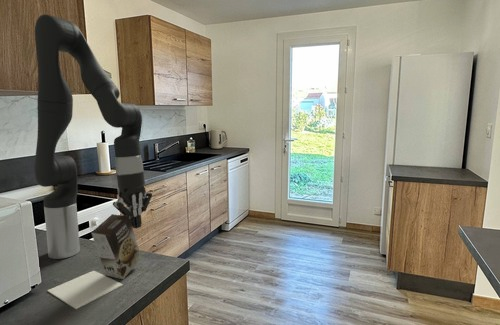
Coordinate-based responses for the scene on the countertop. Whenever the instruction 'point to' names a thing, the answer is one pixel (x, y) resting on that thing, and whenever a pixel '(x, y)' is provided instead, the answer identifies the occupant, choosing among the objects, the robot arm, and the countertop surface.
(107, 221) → the coffee box
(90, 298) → the mat
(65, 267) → the countertop surface
